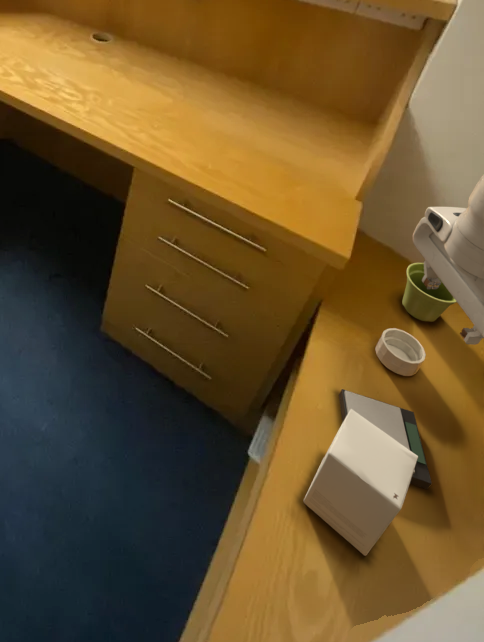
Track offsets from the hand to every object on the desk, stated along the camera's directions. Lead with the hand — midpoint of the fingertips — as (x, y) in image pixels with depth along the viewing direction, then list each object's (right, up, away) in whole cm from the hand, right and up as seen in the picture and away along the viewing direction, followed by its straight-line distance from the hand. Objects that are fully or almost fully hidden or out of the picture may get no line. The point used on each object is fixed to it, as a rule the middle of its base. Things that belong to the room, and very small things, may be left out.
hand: (447, 311), depth 80 cm
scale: (-7, -24, +5) cm, 26 cm away
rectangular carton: (-18, -29, -2) cm, 34 cm away
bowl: (+4, -17, +17) cm, 25 cm away
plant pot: (+15, -12, +26) cm, 33 cm away
